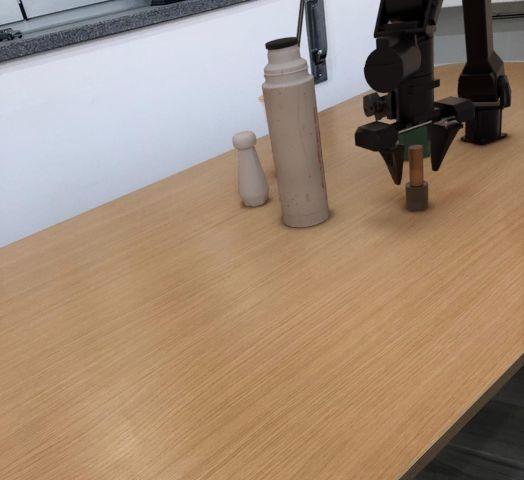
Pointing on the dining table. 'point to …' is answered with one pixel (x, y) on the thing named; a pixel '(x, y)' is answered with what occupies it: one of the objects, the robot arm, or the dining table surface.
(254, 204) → the salt shaker
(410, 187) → the wooden peg on base
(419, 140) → the enamel cup
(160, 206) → the dining table surface
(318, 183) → the thermos bottle
